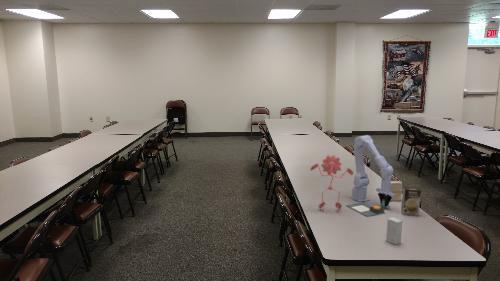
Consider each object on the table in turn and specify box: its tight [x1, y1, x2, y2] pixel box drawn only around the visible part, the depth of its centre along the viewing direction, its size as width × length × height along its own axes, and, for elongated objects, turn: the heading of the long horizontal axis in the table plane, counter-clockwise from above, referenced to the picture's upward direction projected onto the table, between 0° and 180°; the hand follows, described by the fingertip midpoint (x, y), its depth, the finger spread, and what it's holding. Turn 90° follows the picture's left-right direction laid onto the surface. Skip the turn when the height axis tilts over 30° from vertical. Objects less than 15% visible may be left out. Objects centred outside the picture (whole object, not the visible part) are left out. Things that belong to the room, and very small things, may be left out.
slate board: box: [345, 201, 386, 218], centre depth 232 cm, size 20×14×3 cm
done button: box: [373, 205, 382, 210], centre depth 227 cm, size 4×4×2 cm
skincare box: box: [385, 216, 403, 245], centre depth 188 cm, size 6×4×12 cm
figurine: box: [309, 154, 354, 214], centre depth 231 cm, size 15×26×35 cm, turn 84°
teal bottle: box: [381, 198, 388, 209], centre depth 235 cm, size 3×3×6 cm
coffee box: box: [400, 186, 422, 217], centre depth 225 cm, size 9×6×16 cm
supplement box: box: [390, 180, 403, 202], centre depth 248 cm, size 8×5×13 cm, turn 92°
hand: (384, 204), depth 236 cm, fingers closed on teal bottle, 3 cm apart
